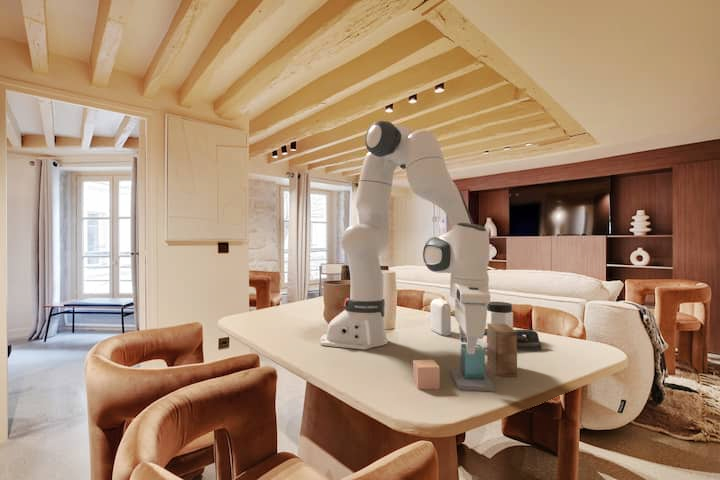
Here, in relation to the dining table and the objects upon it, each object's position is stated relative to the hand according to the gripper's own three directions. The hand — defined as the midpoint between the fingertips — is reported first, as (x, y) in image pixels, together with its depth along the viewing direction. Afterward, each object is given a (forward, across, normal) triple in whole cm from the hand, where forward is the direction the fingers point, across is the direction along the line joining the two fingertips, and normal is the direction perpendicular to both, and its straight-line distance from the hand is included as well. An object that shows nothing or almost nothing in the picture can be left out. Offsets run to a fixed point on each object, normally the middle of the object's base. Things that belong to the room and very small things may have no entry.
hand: (466, 347), depth 86 cm
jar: (+8, -42, +18) cm, 47 cm away
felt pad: (+8, 0, +1) cm, 8 cm away
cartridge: (+7, 0, +2) cm, 7 cm away
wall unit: (+8, -9, +10) cm, 16 cm away
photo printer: (+9, -46, -2) cm, 47 cm away
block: (+8, +4, -10) cm, 14 cm away
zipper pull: (+8, -30, +16) cm, 35 cm away
